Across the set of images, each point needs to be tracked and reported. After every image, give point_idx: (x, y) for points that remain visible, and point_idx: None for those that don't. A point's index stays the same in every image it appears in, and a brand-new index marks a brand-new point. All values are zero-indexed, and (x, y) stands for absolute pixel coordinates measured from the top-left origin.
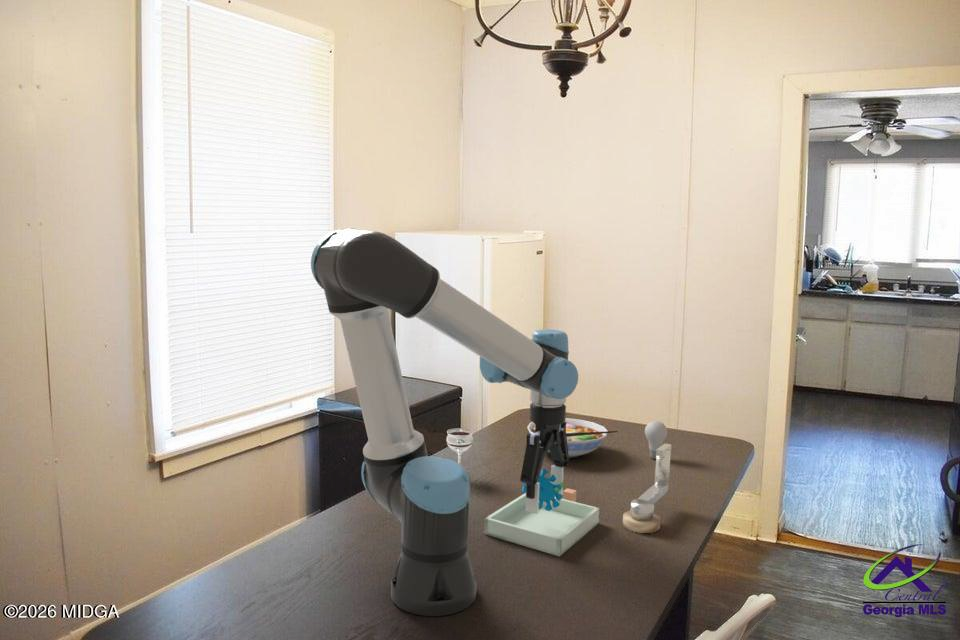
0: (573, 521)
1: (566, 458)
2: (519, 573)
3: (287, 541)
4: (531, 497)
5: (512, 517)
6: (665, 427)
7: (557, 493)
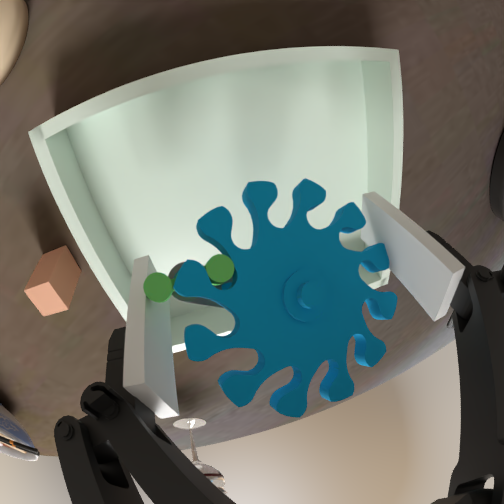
0: (129, 165)
1: (82, 437)
2: (458, 94)
3: (452, 336)
4: (434, 236)
5: None
6: None
7: (227, 242)
